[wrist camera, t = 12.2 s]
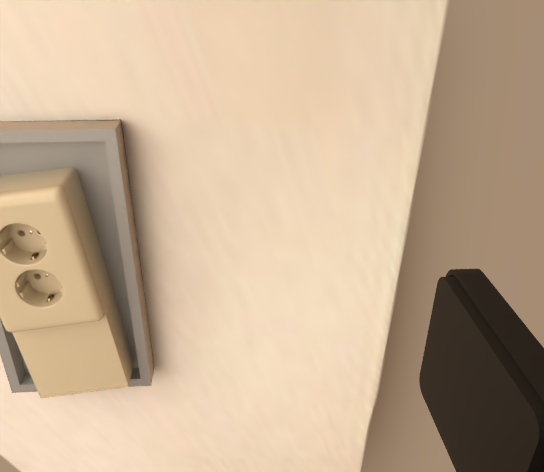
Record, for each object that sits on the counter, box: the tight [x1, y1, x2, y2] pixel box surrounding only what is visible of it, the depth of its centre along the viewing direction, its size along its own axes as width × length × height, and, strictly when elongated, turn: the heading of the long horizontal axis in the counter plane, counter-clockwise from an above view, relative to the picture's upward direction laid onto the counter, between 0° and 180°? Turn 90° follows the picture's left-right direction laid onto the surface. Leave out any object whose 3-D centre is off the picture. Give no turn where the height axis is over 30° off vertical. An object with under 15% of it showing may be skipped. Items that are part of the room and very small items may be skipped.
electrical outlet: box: [0, 167, 134, 398], centre depth 39 cm, size 7×4×18 cm
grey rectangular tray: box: [0, 120, 154, 393], centre depth 40 cm, size 23×12×2 cm, turn 0°
